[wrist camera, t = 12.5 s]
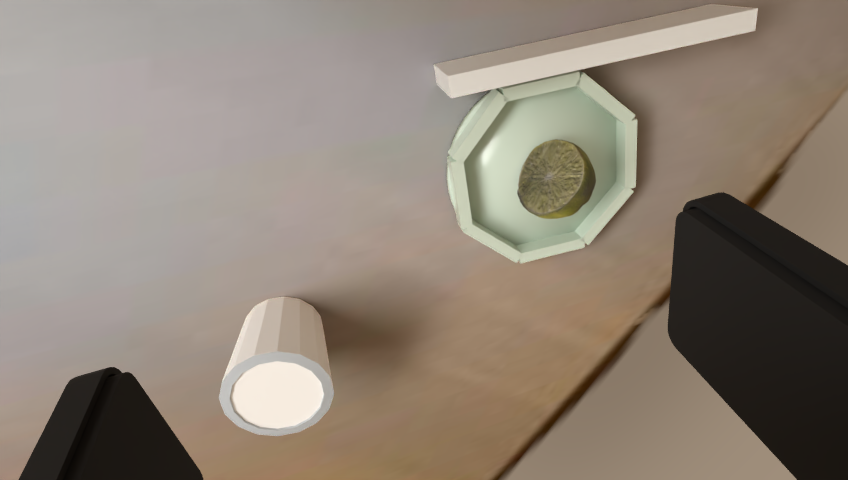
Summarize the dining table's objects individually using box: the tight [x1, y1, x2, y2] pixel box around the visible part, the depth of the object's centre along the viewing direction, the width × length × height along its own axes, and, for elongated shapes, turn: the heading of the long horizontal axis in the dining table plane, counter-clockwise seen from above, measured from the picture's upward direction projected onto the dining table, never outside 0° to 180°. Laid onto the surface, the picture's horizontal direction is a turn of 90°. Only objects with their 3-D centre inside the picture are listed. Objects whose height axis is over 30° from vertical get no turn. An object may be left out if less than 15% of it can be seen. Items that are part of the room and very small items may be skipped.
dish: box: [446, 70, 637, 263], centre depth 35 cm, size 13×13×2 cm
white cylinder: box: [219, 296, 334, 436], centre depth 35 cm, size 7×7×7 cm
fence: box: [434, 4, 758, 98], centre depth 31 cm, size 1×18×4 cm, turn 100°
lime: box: [517, 139, 596, 219], centre depth 33 cm, size 4×5×5 cm
